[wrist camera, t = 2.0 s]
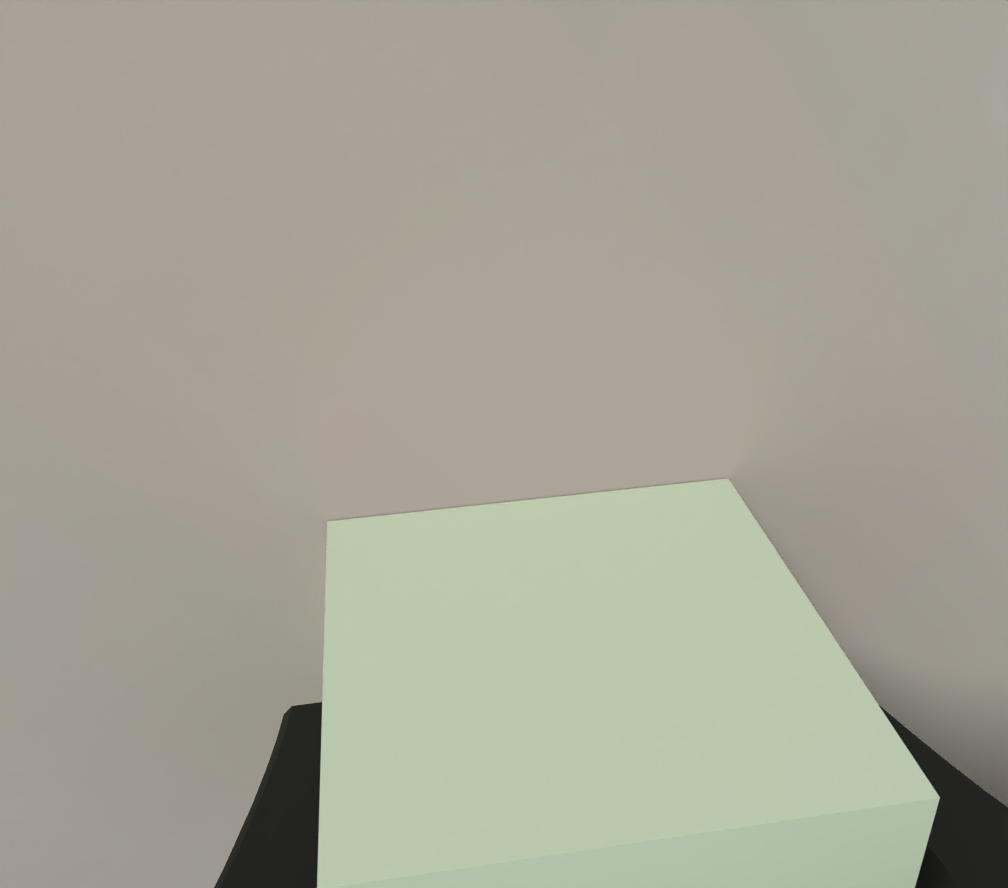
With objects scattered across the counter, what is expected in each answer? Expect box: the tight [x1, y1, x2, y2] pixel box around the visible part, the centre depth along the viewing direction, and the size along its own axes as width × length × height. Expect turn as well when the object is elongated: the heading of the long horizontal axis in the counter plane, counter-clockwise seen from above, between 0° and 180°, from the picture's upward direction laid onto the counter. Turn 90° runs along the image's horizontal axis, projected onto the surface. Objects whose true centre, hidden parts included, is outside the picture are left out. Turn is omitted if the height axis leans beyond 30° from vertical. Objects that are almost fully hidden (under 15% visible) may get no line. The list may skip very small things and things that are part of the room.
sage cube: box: [317, 479, 940, 888], centre depth 11 cm, size 5×5×5 cm
